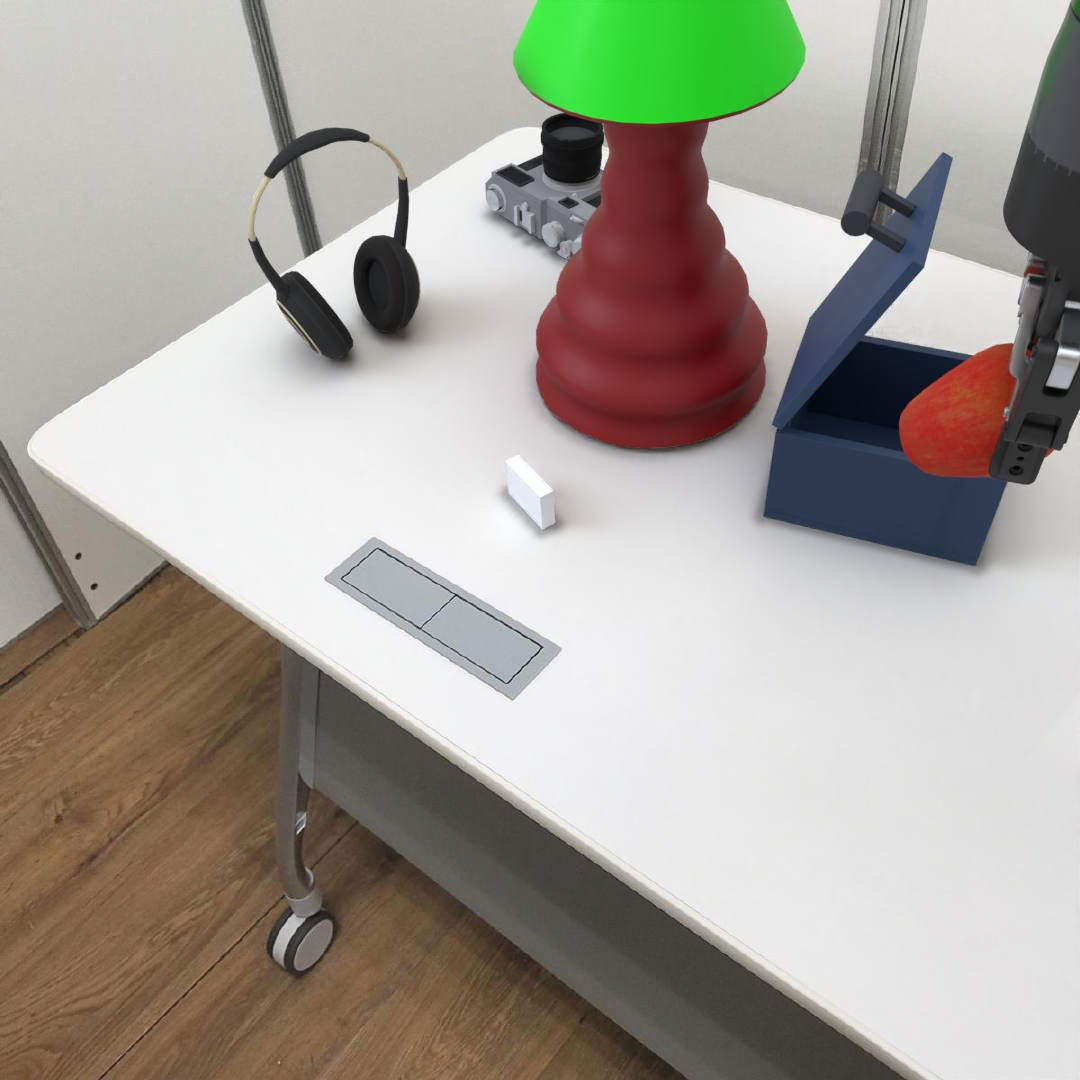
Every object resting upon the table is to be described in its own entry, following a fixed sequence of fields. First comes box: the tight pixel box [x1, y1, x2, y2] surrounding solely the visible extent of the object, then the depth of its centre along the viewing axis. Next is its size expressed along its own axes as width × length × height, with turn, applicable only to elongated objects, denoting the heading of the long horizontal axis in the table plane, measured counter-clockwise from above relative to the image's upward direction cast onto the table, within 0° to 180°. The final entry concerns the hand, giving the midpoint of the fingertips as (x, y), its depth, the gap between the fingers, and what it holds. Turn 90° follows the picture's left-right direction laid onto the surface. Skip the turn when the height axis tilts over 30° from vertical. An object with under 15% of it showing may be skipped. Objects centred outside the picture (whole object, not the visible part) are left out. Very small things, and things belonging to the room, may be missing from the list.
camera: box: [484, 112, 605, 261], centre depth 107 cm, size 18×10×10 cm
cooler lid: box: [771, 151, 954, 430], centre depth 74 cm, size 16×13×5 cm
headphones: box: [247, 127, 421, 359], centre depth 93 cm, size 9×15×20 cm, turn 125°
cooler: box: [763, 334, 1008, 567], centre depth 82 cm, size 16×13×9 cm
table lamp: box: [512, 0, 807, 450], centre depth 78 cm, size 20×20×45 cm
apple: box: [899, 342, 1055, 478], centre depth 57 cm, size 6×6×8 cm
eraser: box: [504, 454, 556, 531], centre depth 84 cm, size 1×5×4 cm, turn 34°
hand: (1016, 430), depth 57 cm, fingers closed on apple, 6 cm apart
